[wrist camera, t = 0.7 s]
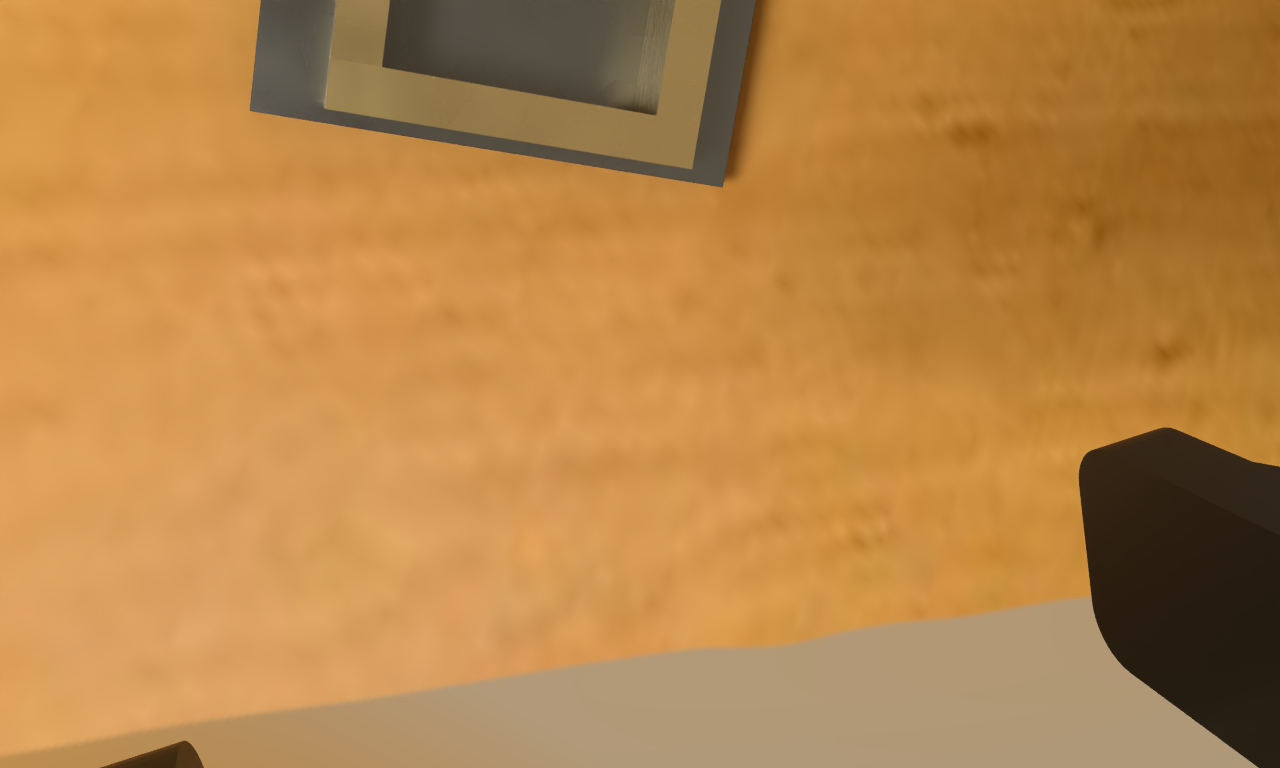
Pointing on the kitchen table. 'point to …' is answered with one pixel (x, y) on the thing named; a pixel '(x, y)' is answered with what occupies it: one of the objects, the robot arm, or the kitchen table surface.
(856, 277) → the kitchen table surface
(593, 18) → the fitting plate
